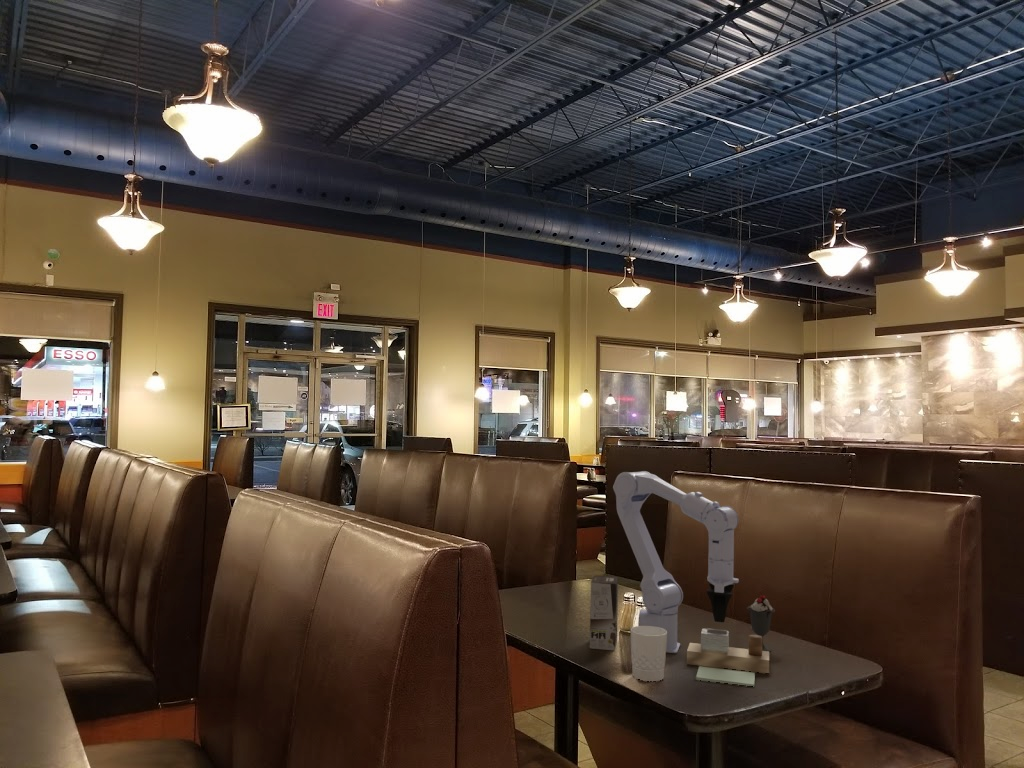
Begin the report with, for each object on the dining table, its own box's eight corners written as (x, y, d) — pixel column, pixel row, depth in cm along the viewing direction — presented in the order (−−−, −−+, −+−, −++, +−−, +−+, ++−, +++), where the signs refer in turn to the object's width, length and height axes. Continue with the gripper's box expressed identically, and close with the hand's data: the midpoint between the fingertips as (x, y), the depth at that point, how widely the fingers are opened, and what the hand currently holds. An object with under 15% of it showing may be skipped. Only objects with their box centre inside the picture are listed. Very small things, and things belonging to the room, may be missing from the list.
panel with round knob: (686, 663, 175) (687, 633, 176) (689, 655, 182) (690, 625, 182) (769, 673, 169) (769, 642, 170) (769, 664, 176) (769, 634, 176)
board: (696, 679, 164) (696, 677, 164) (699, 668, 172) (699, 666, 172) (754, 687, 161) (754, 684, 161) (754, 675, 168) (754, 672, 168)
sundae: (756, 654, 184) (757, 592, 184) (741, 646, 190) (741, 586, 191) (780, 653, 185) (780, 591, 186) (764, 645, 192) (764, 585, 192)
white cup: (641, 668, 171) (641, 623, 172) (673, 676, 166) (673, 630, 167) (623, 677, 165) (623, 630, 166) (655, 685, 160) (655, 637, 161)
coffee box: (615, 651, 184) (616, 583, 185) (588, 649, 185) (590, 582, 186) (617, 640, 193) (618, 576, 194) (592, 638, 194) (593, 574, 195)
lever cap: (700, 650, 176) (700, 630, 176) (702, 645, 180) (702, 625, 180) (727, 653, 174) (727, 633, 174) (728, 648, 178) (728, 628, 178)
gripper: (737, 565, 170) (737, 627, 169) (739, 555, 184) (738, 612, 183) (705, 563, 172) (704, 623, 171) (709, 552, 186) (708, 609, 185)
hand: (720, 617), depth 177 cm, fingers open, 7 cm apart
